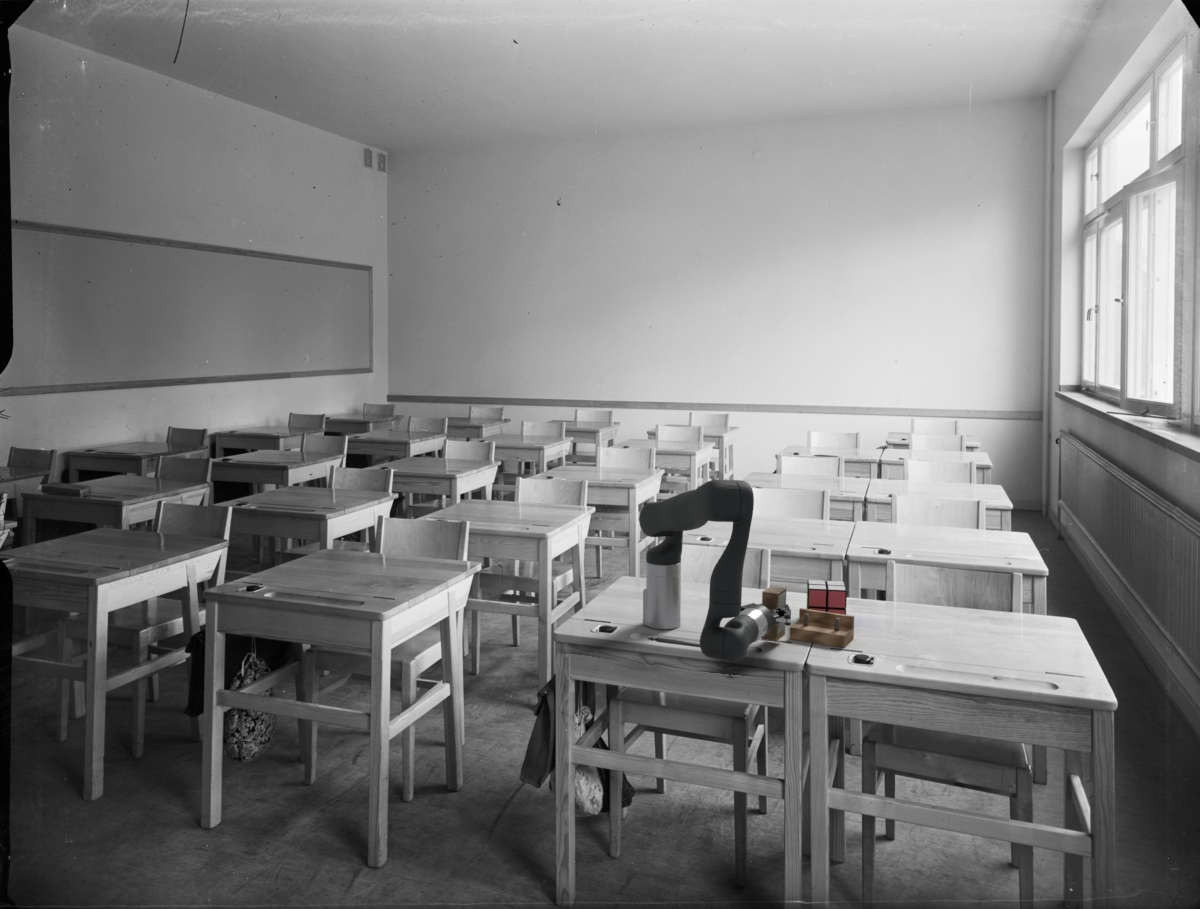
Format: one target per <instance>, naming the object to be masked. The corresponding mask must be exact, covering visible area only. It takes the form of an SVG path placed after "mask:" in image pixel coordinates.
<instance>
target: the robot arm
mask: <svg viewBox="0 0 1200 909" xmlns="http://www.w3.org/2000/svg"><path fill="white" fill-rule="evenodd" d="M754 497H755V496H754V491H753V488H752V486H751V484H750V483H749V482H748V481H746V480H741V479H740V480H737V479H736V480H735V479H733V480H732V479H712V480H708V481H707V482H705V483H703V484H701V485H700V486H698V487H697V488H696V489H691V490H687V491H684V492H681V493H678V494H676V495H675V496H671V497H669V498H667V499H664V500H661V501H652V502H648V503H645V504H644V505H643V507H642V508H641V509H640V512H639V518H638V522H639V526H640V527H639V528H640V530H641V531H642V533H644V535H646V536H648V537H649V538H661V537H662V538H664V537H665V538H664V539H663V540H662V542H660V543H659V544H657V545H656V546H655V545H654V547H651V548H649V549H648V550H647V551H646V556H645V563H646V564H645V567H646V568H645V589H643V590H642V625H644V626H647V627H649V628H651V629H656V630H672V629H677V628H679V627H680V626H681V623H682V622H681V620H682V617H681V616H682V615H681V614H682V613H681V612H682V611H681V610H682V609H681V608H682V607H681V604H682V602H681V601H682V595H681V593H682V587H681V586H682V584H681V583H682V553H683V541H684V540H683V537H684V532H685V531H686V532H687V531H694V530H696V529H699V528H702V527H703V526H705V525H706V524H707V523H708V522H716V523H731V522H732V531H731V535H730V538H729V541H728V543H727V545H726V547H725V549H724V550H723V552H722V554H721V555H720V557H719V559H718V561H717V562H716V564H715V565H714V567H713V570H712V572H711V575H710V579H709V580H710V581H709V599H708V600H709V603H708V609H707V613H706V618H705V622H704V623H703V628H702V630H701V633H700V637H699V647H700V651H701V652H702V654H703V655H704V656H705V657H707V658H712V659H717V660H721V661H722V660H723V661H729V662H739V661H741V660H742V661H743V659H745V657H746V655H747V652H748V649H749V647H750V645H752V644H753V643H756V642H758V641H759V640H760V639H761V638H762V637H763V636H765V635H766V634H767V633H769V632H770V631H771V629H772V628H773V626H774V625H775V624H778V623H779V622H784V624H785V627H789V626H790V627H791V623H792V622H791V621H792V609H791V608H790V606H789V604H787V603H786V604H785V605H783V606H782V607H780V608H777V607H774V608H771V609H769V608H766V607H765V606H763V605H762V603H759V604H758V603H757V604H756V603H754V602H752V603H749V604H745V605H742V591H743V589H742V588H743V573H744V572H743V571H744V566H745V559H746V554H747V550H748V544H749V538H750V533H751V528H752V520H753V514H754V507H755V498H754ZM730 618H731V619H730ZM723 619H730V620H729V621H727V622H726V623H725V624H724V626H721V622H722V620H723Z"/></svg>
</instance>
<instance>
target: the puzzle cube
mask: <svg viewBox="0 0 1200 909" xmlns="http://www.w3.org/2000/svg"><path fill="white" fill-rule="evenodd" d="M806 582H807V583H806V584H807V585H806V586H807V587H806V609H810V610H817V611H824V612H830V613H837V614H844V615H847V597H848V595H847V594H848V593H847V587H846V582H844V581H839V580H837V581H835V580H827V581H826V580H819V579H818V580H817V579H807V581H806Z"/></svg>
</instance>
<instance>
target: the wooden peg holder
mask: <svg viewBox="0 0 1200 909" xmlns="http://www.w3.org/2000/svg"><path fill="white" fill-rule="evenodd" d="M798 614H799V616H798V617H799V618H798V619H799V620H797V621H796V622H794V624H792V625H790V627H789V639H790V640H797V641H800V642H808V643H814V644H820V645H826V646H831V647H837V648H844V649H845V648H846V647H847V646H848V645H849V644H850V643H851V642H852V641H853V640H854V638H855V636H854V635H855V634H854V632H855V615H849V614H846V615H844V614H837V613H830V612H824V611H817V610H810V609H807V608H802V607H800V608H799V613H798Z"/></svg>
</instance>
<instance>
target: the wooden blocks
mask: <svg viewBox="0 0 1200 909" xmlns="http://www.w3.org/2000/svg"><path fill="white" fill-rule="evenodd" d="M761 595H762V596H761V597H762V598H761V604H762V605H763V606H765V607H766V608H769V609H771V608H774V607H777V608H780V607H782V606H783V605H785V604H787V588H785V587H779V586H774V585H773V586H771V585H770V586H769V587H767V588H766V589H764V590H763V591H762V594H761ZM784 636H786V625H785V624H784V622H779V623H778V624H775V625H774V626H773V628H772V629H771V631H770V632H769V633H767V634H766V635H765V636H763V637H762V638H760V639H761V640H767V641H772V642H778V641H779V640H780V639H782V638H783V637H784Z"/></svg>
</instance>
